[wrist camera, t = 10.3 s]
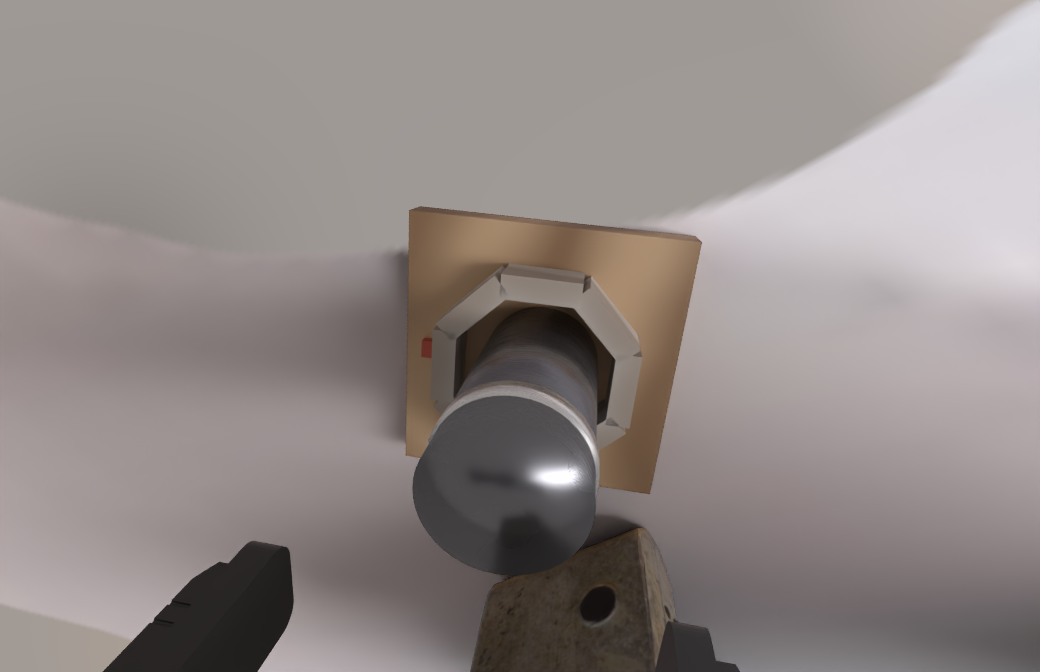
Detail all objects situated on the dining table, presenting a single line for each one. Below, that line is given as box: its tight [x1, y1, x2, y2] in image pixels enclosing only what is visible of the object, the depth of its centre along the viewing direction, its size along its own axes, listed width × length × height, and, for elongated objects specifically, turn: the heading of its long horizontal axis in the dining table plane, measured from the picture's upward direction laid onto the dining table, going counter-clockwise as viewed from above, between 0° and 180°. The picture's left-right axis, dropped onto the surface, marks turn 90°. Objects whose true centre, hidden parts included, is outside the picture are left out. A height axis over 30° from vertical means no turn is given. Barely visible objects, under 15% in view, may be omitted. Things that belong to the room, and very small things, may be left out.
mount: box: [406, 207, 702, 494], centre depth 23 cm, size 12×12×4 cm
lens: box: [413, 307, 600, 576], centre depth 19 cm, size 5×5×10 cm
